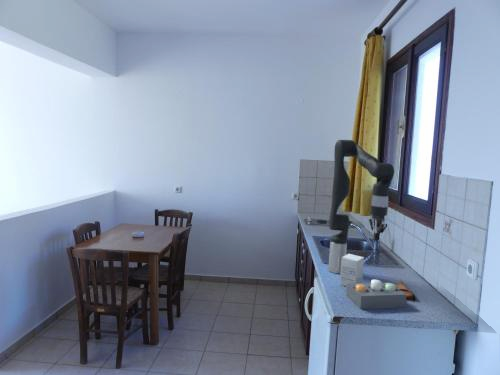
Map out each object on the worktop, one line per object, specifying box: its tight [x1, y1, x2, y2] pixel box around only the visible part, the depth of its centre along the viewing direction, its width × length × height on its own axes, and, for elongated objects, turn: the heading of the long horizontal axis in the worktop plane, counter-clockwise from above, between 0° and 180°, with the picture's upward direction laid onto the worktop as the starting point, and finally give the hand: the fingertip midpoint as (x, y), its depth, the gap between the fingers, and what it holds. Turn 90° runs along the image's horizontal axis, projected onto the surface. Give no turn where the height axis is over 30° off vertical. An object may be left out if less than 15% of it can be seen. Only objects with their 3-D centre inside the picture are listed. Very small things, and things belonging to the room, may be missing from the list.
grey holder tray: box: [345, 282, 407, 310], centre depth 162 cm, size 14×22×6 cm, turn 100°
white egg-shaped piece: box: [370, 279, 383, 291], centre depth 162 cm, size 5×5×6 cm
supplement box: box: [339, 253, 365, 288], centre depth 181 cm, size 9×9×15 cm
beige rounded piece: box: [356, 284, 366, 292], centre depth 160 cm, size 5×5×6 cm
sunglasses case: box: [393, 280, 416, 302], centre depth 174 cm, size 18×7×7 cm
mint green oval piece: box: [385, 282, 396, 291], centre depth 163 cm, size 5×5×6 cm
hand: (376, 240), depth 168 cm, fingers closed
